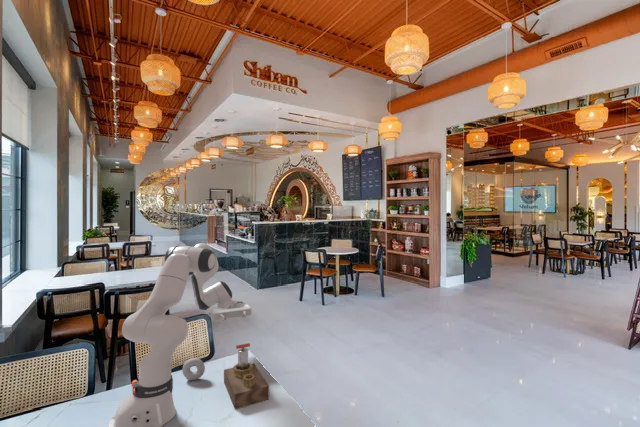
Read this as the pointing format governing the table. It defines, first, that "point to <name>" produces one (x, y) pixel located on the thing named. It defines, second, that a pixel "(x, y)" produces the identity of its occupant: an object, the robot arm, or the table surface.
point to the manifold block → (245, 386)
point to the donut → (189, 373)
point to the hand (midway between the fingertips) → (234, 317)
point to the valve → (242, 356)
